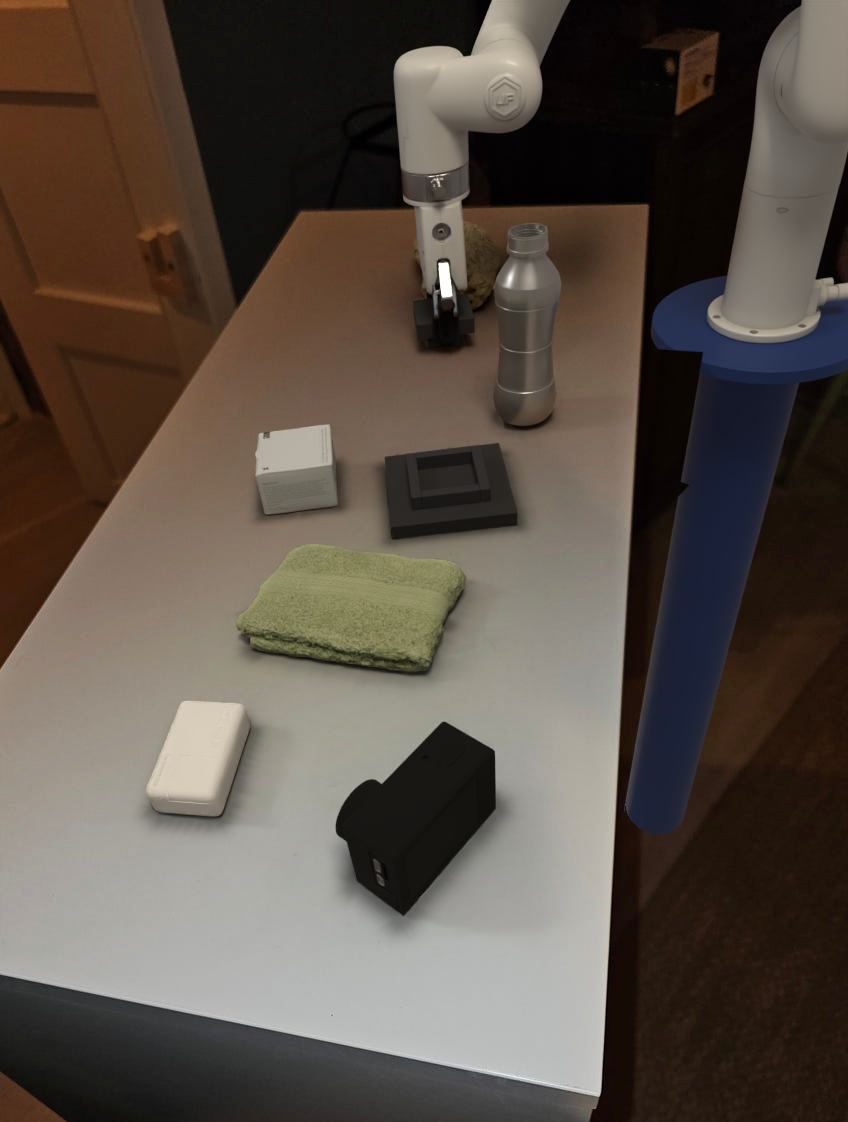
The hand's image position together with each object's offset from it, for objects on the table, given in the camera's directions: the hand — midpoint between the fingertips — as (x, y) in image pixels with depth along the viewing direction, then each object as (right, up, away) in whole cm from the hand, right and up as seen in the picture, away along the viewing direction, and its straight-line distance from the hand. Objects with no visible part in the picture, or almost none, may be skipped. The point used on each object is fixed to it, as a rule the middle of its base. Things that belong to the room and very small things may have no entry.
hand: (443, 330), depth 109 cm
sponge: (+3, +11, +12) cm, 16 cm away
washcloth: (-11, -37, -33) cm, 51 cm away
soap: (-22, -49, -43) cm, 69 cm away
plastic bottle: (+8, -15, -14) cm, 22 cm away
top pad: (0, -1, +1) cm, 1 cm away
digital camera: (-6, -53, -49) cm, 73 cm away
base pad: (-1, -25, -22) cm, 33 cm away
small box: (-17, -24, -18) cm, 34 cm away
